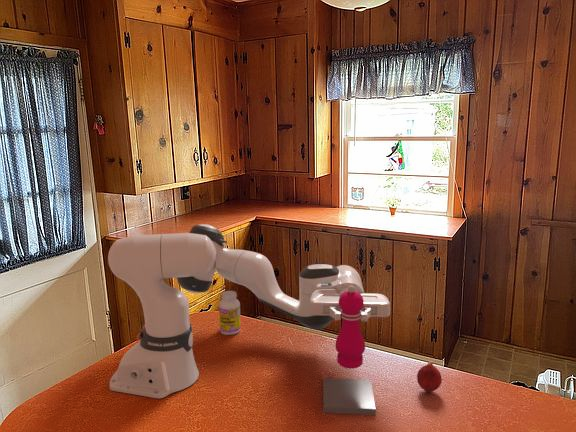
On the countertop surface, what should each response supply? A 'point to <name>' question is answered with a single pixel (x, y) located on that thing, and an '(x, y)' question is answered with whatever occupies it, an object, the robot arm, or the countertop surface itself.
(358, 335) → the pepper mill
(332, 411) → the silver flat square block
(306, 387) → the countertop surface
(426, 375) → the onion
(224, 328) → the supplement bottle
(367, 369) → the countertop surface
